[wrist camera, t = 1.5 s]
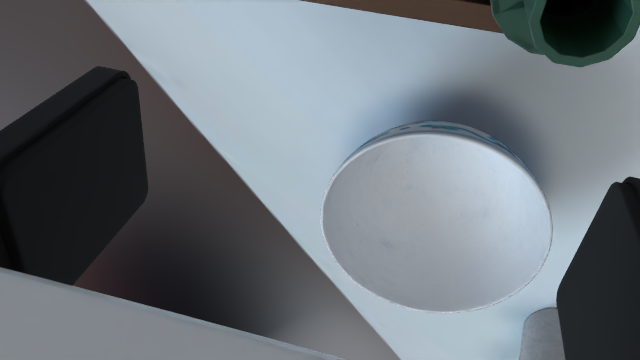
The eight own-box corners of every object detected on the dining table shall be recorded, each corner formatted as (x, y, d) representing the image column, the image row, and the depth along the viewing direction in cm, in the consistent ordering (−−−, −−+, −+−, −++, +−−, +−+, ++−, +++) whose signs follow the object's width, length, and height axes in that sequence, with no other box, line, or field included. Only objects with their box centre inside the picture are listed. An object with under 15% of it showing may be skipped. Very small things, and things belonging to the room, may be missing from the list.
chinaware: (567, 95, 36) (585, 154, 30) (514, 259, 45) (520, 331, 39) (348, 68, 39) (324, 117, 33) (337, 228, 48) (316, 290, 41)
